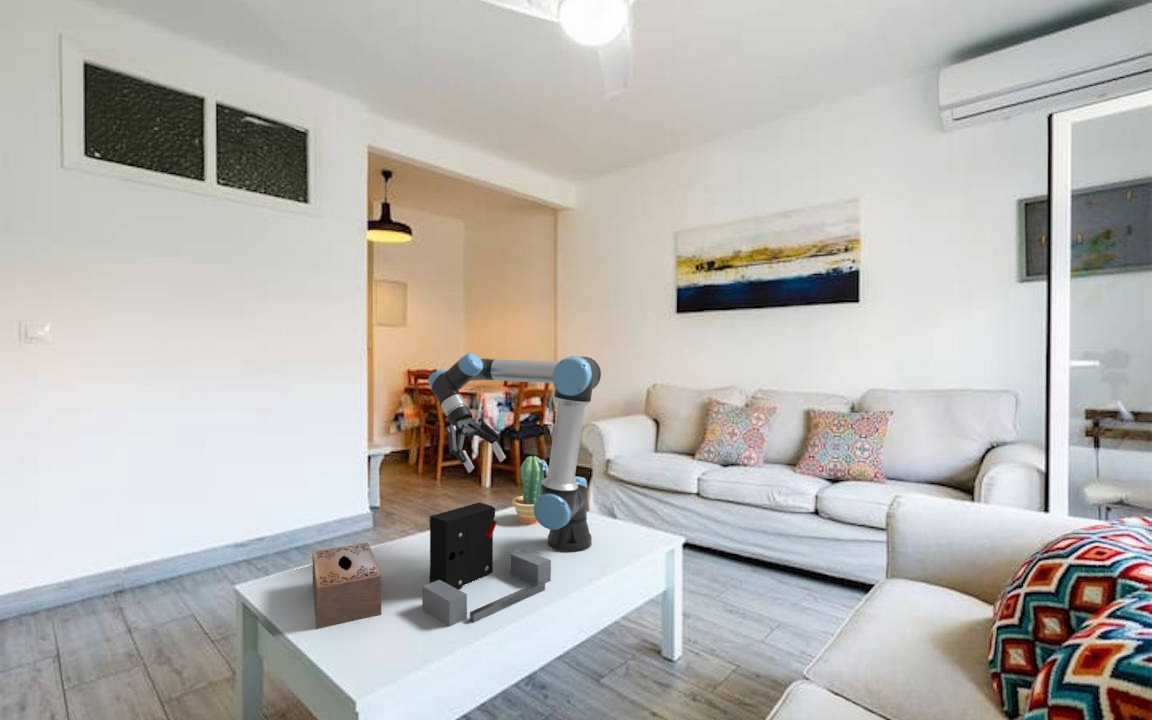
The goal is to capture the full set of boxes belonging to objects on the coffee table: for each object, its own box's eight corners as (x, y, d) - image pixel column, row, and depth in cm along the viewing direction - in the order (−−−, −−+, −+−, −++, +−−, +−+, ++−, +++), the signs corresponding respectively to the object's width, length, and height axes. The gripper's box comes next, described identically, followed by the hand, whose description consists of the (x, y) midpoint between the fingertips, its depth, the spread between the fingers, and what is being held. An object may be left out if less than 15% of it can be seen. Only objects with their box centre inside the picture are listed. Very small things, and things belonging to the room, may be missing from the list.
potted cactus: (536, 529, 192) (536, 462, 192) (503, 522, 200) (503, 457, 200) (558, 518, 206) (558, 455, 205) (526, 512, 214) (527, 451, 213)
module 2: (522, 569, 157) (522, 549, 157) (550, 580, 149) (550, 560, 149) (510, 574, 153) (510, 553, 153) (538, 586, 145) (538, 565, 145)
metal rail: (541, 587, 144) (541, 580, 144) (545, 589, 143) (545, 582, 143) (469, 620, 127) (469, 612, 127) (473, 622, 126) (473, 614, 126)
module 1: (439, 602, 136) (439, 579, 136) (466, 618, 127) (466, 594, 127) (422, 609, 132) (422, 585, 132) (449, 626, 124) (449, 601, 124)
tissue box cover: (381, 615, 129) (381, 575, 129) (316, 630, 122) (316, 588, 122) (367, 576, 152) (367, 542, 152) (312, 587, 145) (312, 551, 145)
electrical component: (474, 566, 159) (474, 500, 159) (497, 575, 153) (497, 507, 153) (425, 585, 146) (425, 514, 145) (447, 596, 139) (447, 522, 139)
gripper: (479, 411, 185) (509, 461, 178) (420, 424, 166) (451, 481, 159) (490, 399, 181) (520, 449, 174) (431, 411, 162) (463, 468, 155)
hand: (487, 464), depth 166 cm, fingers open, 13 cm apart
